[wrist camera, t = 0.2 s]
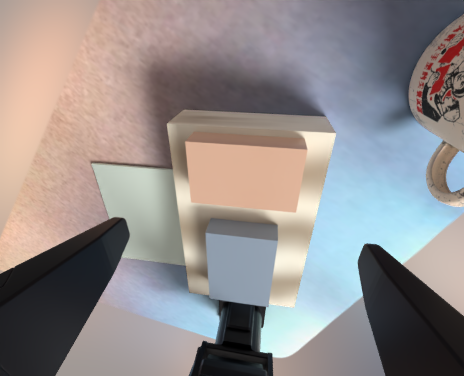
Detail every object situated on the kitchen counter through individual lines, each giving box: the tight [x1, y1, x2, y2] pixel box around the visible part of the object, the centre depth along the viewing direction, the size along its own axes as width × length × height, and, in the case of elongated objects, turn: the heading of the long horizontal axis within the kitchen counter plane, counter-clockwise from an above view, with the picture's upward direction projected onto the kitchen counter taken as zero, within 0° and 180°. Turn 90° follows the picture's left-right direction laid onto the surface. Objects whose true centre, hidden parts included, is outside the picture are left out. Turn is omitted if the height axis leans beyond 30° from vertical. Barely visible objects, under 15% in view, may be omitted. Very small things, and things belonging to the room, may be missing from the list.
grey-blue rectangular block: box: [205, 218, 278, 307], centre depth 24 cm, size 9×6×2 cm, turn 0°
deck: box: [167, 110, 336, 308], centre depth 24 cm, size 20×12×4 cm, turn 0°
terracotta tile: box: [185, 132, 308, 213], centre depth 18 cm, size 5×8×2 cm, turn 90°
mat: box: [92, 163, 186, 266], centre depth 29 cm, size 14×10×1 cm
